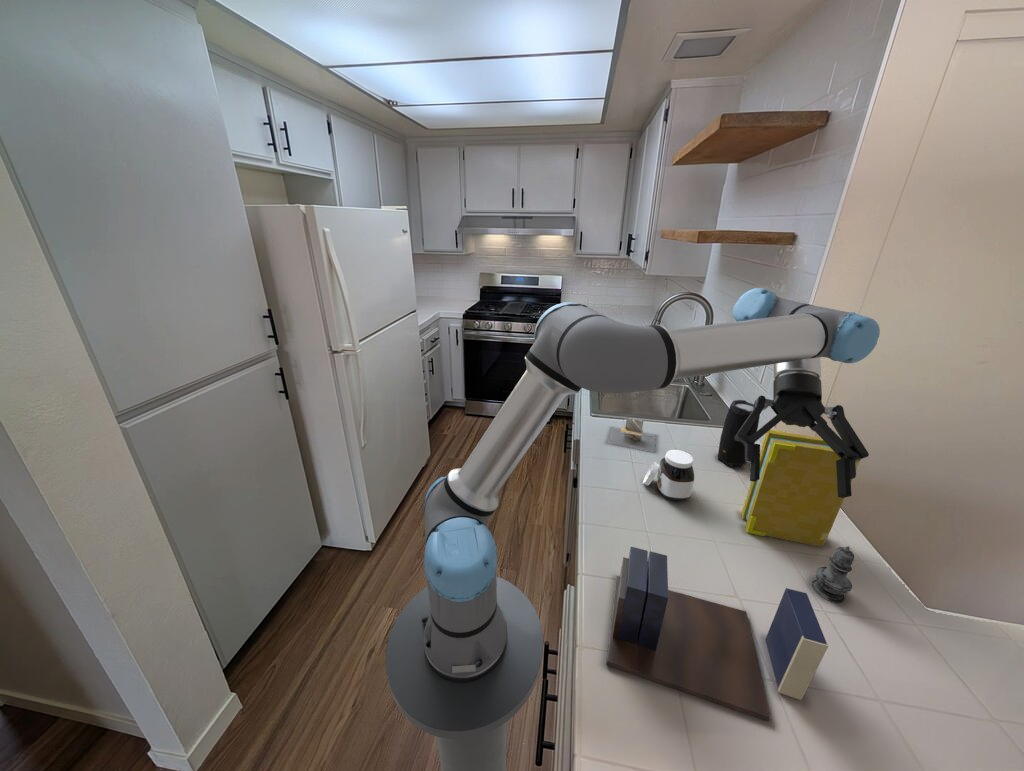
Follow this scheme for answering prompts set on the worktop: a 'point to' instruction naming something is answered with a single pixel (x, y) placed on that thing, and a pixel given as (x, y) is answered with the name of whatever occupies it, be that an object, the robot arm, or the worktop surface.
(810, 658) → the navy book
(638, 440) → the architectural model
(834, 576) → the chess piece
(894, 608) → the worktop surface
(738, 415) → the portable speaker
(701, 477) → the worktop surface
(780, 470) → the book
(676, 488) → the spread jar
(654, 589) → the book rack
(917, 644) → the worktop surface
